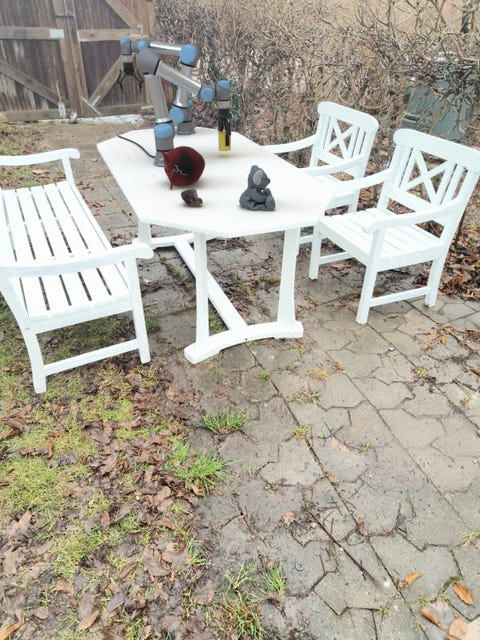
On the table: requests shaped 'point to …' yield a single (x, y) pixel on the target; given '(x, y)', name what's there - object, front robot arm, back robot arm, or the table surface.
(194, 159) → the dark red rounded lump
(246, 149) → the table surface
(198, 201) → the rock
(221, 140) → the tin
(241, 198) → the koala plush
